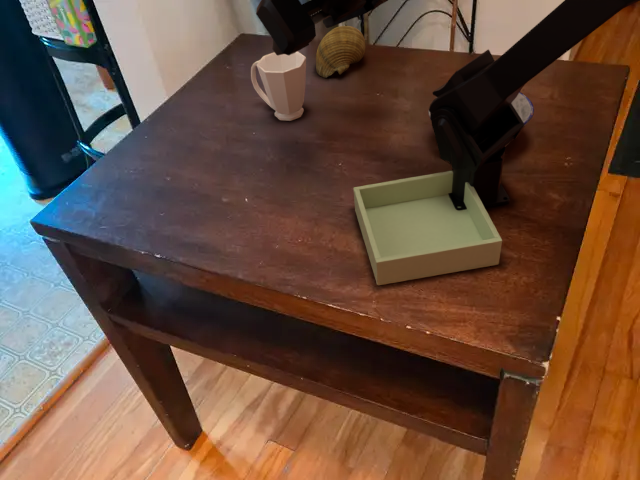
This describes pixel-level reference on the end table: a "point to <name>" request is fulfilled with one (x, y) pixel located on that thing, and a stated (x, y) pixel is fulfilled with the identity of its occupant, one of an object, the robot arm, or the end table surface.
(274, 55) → the cup
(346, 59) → the seashell
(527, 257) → the end table surface
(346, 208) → the end table surface
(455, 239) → the tray
